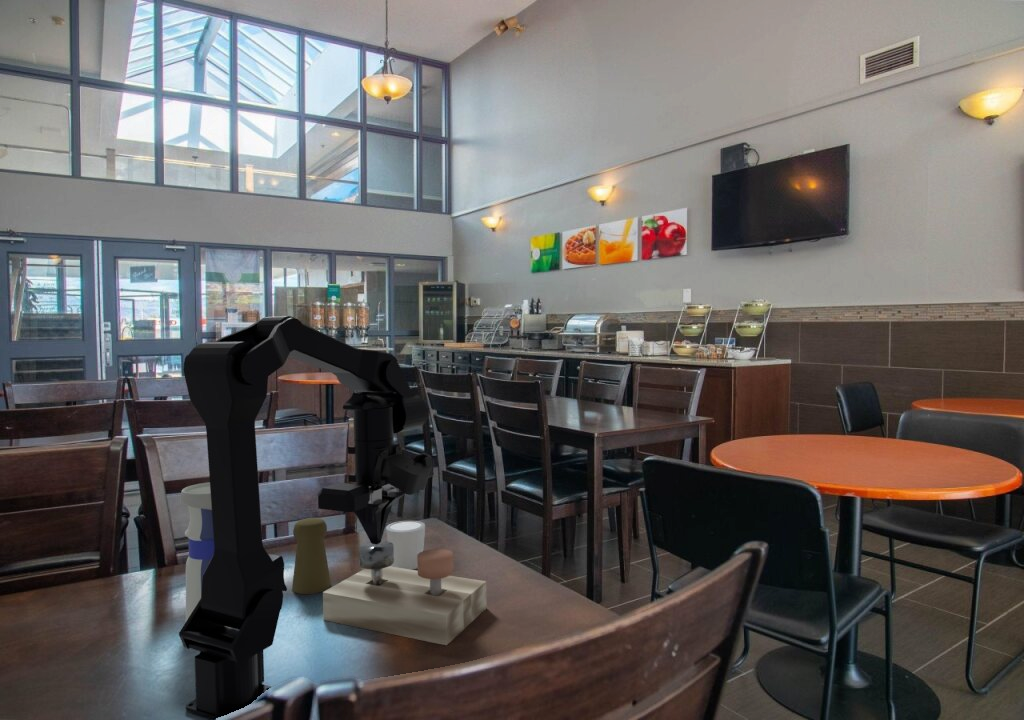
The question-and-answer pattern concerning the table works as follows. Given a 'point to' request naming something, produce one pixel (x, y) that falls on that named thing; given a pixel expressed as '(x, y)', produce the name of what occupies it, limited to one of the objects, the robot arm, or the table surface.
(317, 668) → the table surface
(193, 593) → the water bottle
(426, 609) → the plunger block
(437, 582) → the pink mushroom knob
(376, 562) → the metal plunger
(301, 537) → the cork
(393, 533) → the shot glass
